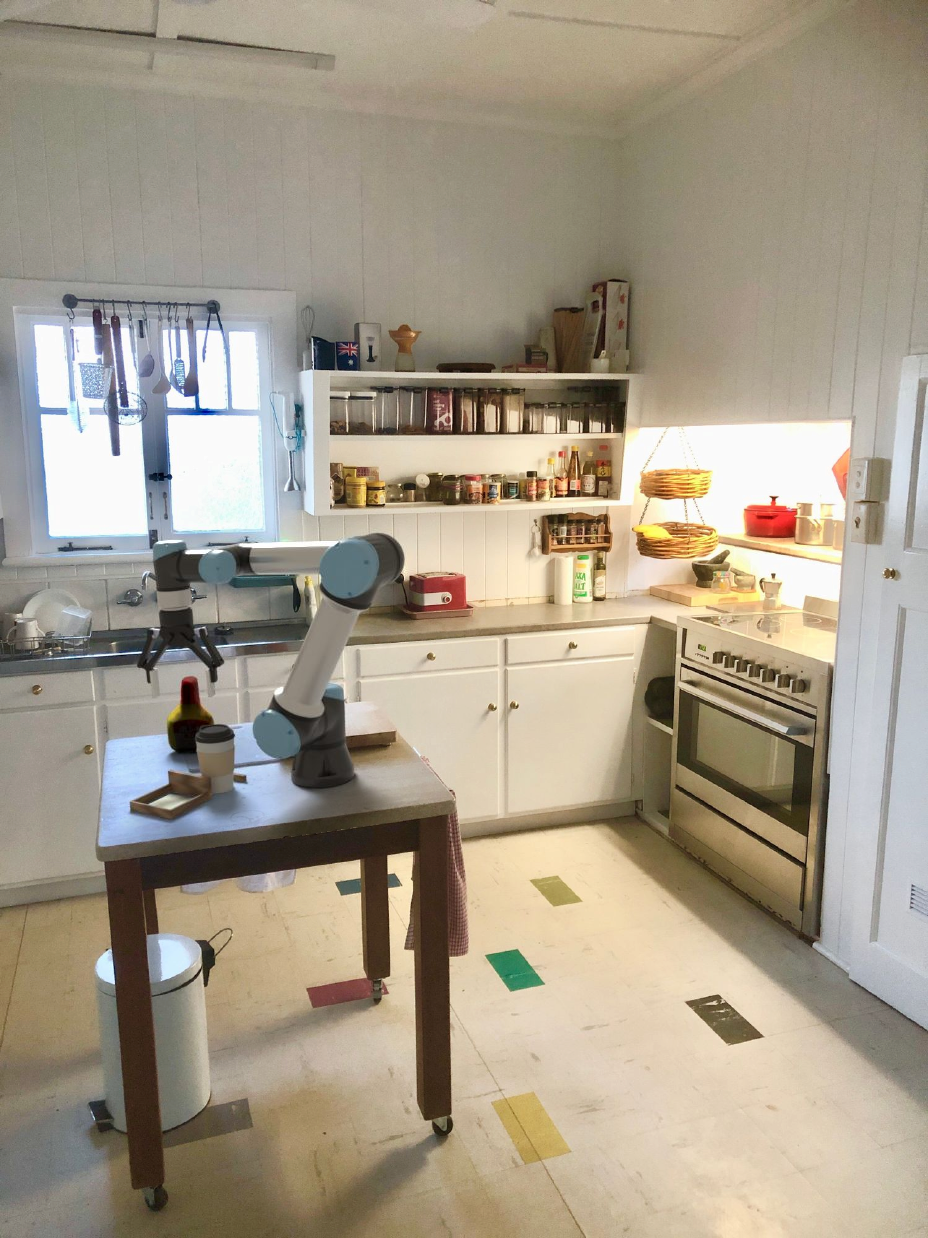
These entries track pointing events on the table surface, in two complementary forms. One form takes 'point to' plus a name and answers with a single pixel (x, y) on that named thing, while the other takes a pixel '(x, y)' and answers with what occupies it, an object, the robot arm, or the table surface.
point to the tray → (174, 803)
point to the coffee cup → (216, 755)
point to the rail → (239, 777)
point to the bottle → (187, 718)
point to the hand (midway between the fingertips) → (183, 696)
